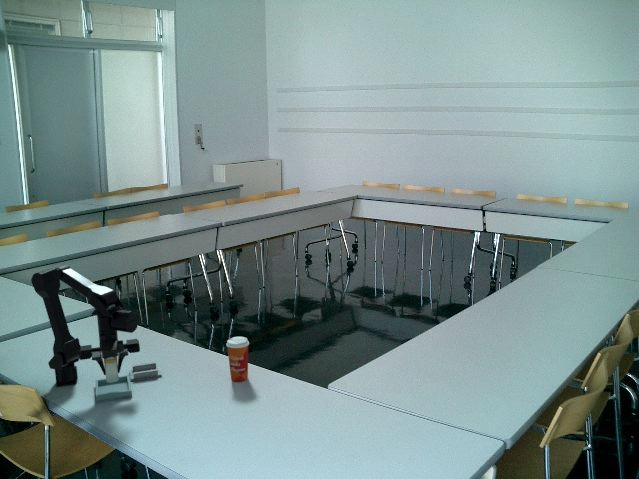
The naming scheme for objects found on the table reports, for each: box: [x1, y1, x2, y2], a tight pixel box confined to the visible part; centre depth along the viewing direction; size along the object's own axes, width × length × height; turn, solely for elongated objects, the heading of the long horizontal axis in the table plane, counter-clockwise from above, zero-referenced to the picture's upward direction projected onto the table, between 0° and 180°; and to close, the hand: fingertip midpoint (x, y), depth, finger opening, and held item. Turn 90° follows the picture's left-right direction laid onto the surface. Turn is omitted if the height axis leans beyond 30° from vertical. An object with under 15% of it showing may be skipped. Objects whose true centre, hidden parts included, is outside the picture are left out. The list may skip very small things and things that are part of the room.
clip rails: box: [128, 361, 163, 382], centre depth 226 cm, size 10×8×2 cm
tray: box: [94, 374, 133, 403], centre depth 213 cm, size 11×13×2 cm
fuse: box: [103, 356, 120, 383], centre depth 212 cm, size 4×4×8 cm
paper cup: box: [225, 336, 250, 383], centre depth 220 cm, size 8×8×14 cm
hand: (111, 373), depth 212 cm, fingers closed on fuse, 4 cm apart
